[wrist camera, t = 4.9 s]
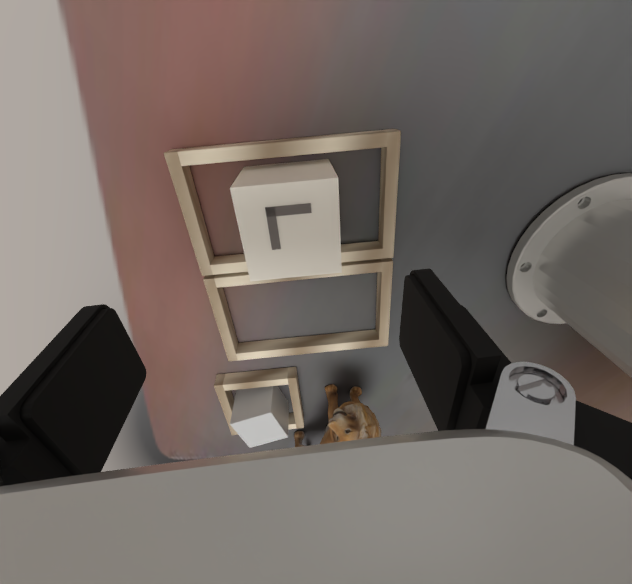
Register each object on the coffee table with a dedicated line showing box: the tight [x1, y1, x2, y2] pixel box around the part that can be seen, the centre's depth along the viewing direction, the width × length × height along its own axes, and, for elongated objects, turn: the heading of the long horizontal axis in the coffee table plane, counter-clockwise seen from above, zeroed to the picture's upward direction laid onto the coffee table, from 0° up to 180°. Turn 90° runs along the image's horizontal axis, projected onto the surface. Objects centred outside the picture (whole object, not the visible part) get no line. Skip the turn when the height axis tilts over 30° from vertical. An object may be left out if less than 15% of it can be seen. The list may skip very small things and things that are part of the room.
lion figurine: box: [294, 384, 381, 447], centre depth 30 cm, size 15×5×9 cm, turn 163°
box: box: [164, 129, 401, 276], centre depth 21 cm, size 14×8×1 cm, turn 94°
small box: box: [214, 367, 304, 435], centre depth 32 cm, size 8×8×1 cm
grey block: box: [230, 386, 289, 448], centre depth 31 cm, size 4×4×4 cm
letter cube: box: [230, 159, 342, 281], centre depth 20 cm, size 6×6×6 cm
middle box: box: [203, 258, 393, 361], centre depth 26 cm, size 14×8×1 cm, turn 94°
